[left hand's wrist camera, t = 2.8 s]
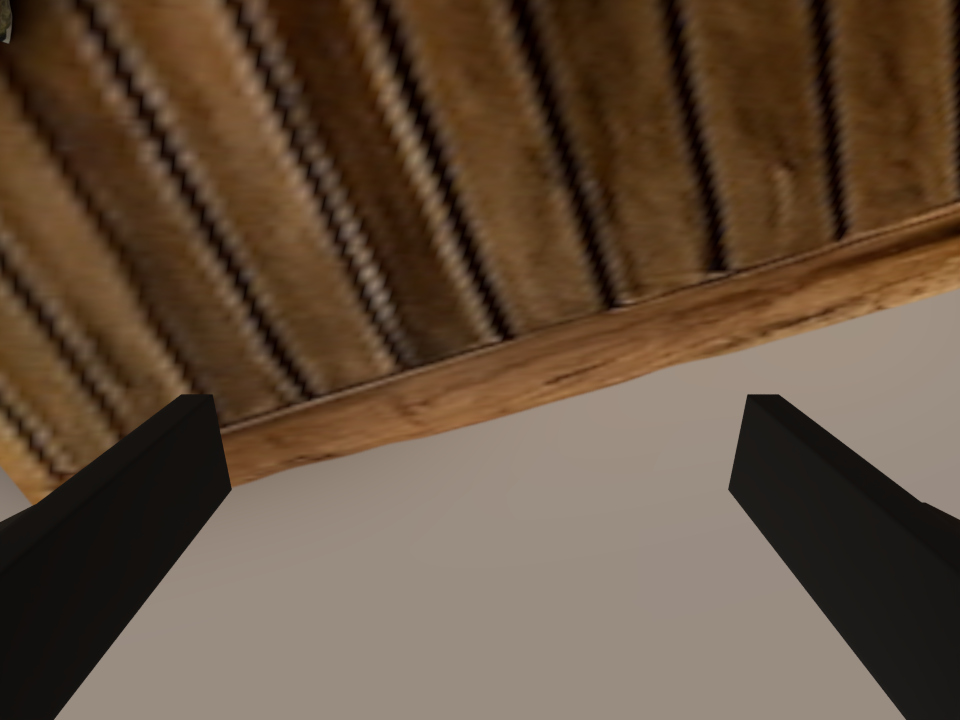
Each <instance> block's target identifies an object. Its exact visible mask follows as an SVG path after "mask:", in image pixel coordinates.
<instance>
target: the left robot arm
mask: <svg viewBox="0 0 960 720" xmlns="http://www.w3.org/2000/svg"><path fill="white" fill-rule="evenodd" d="M231 490H232V488H231V484H230V479H229V474H228V469H227V464H226V459H225V454H224V449H223V444H222V439H221V434H220V429H219V424H218V419H217V414H216V409H215V404H214V399H213V394H181V395H180V396H179V397H177V398H176V399H175V400H173V401H172V402H171V403H169V404H168V405H167V406H165V407H164V408H163V409H161V410H160V411H159V412H157V413H156V414H155V415H153V416H152V417H151V418H150V419H148V420H147V421H146V422H144V423H143V424H142V425H140V426H139V427H138V428H136V429H135V430H134V431H132V432H131V433H130V434H128V435H127V436H126V437H124V438H123V439H122V440H120V441H119V442H118V443H116V444H115V445H114V446H112V447H111V448H110V449H109V450H107V451H106V452H105V453H103V454H102V455H101V456H99V457H98V458H97V459H95V460H94V461H93V462H91V463H90V464H89V465H87V466H86V467H85V468H83V469H82V470H81V471H79V472H78V473H77V474H75V475H74V476H73V477H71V478H70V479H69V480H68V481H66V482H65V483H64V484H62V485H61V486H60V487H58V488H57V489H56V490H54V491H53V492H52V493H50V494H49V495H48V496H46V497H45V498H44V499H42V500H41V501H40V502H38V503H37V504H35V505H33V506H31V507H29V508H27V509H25V510H23V511H21V512H19V513H17V514H15V515H13V516H12V517H9V518H8V519H6V520H4V521H2V522H0V720H54V719H55V718H56V716H57V715H58V714H59V712H60V711H61V710H62V708H63V707H64V706H65V704H66V703H67V702H68V701H69V699H70V698H71V697H72V695H73V694H74V693H75V692H76V690H77V689H78V688H79V686H80V685H81V684H82V683H83V681H84V680H85V679H86V677H87V676H88V675H89V673H90V672H91V671H92V670H93V668H94V667H95V666H96V664H97V663H98V662H99V661H100V659H101V658H102V657H103V655H104V654H105V653H106V652H107V650H108V649H109V648H110V646H111V645H112V644H113V642H114V641H115V640H116V639H117V637H118V636H119V635H120V633H121V632H122V631H123V630H124V628H125V627H126V626H127V624H128V623H129V622H130V620H131V619H132V618H133V617H134V615H135V614H136V613H137V612H138V610H139V609H140V608H141V606H142V605H143V604H144V602H145V601H146V600H147V599H148V597H149V596H150V595H151V593H152V592H153V591H154V590H155V588H156V587H157V586H158V584H159V583H160V582H161V580H162V579H163V578H164V576H165V575H166V574H167V573H168V571H169V570H170V569H171V568H172V566H173V565H174V564H175V562H176V561H177V560H178V558H179V557H180V556H181V555H182V553H183V552H184V551H185V549H186V548H187V547H188V545H189V544H190V543H191V542H192V540H193V539H194V538H195V536H196V535H197V534H198V533H199V531H200V530H201V529H202V527H203V526H204V525H205V524H206V522H207V521H208V520H209V518H210V517H211V516H212V514H213V513H214V512H215V511H216V509H217V508H218V507H219V505H220V504H221V503H222V502H223V500H224V499H225V498H226V496H227V495H228V494H229V493H230V491H231ZM728 490H729V491H730V493H731V494H732V495H733V496H734V498H735V499H736V500H737V501H738V503H739V504H740V505H741V507H742V508H743V509H744V511H745V512H746V513H747V514H748V516H749V517H750V518H751V520H752V521H753V522H754V524H755V525H756V526H757V527H758V529H759V530H760V531H761V533H762V534H763V535H764V536H765V538H766V539H767V540H768V542H769V543H770V544H771V545H772V547H773V548H774V549H775V551H776V552H777V553H778V555H779V556H780V557H781V558H782V560H783V561H784V562H785V564H786V565H787V566H788V567H789V569H790V570H791V571H792V573H793V574H794V575H795V577H796V578H797V579H798V580H799V582H800V583H801V584H802V586H803V587H804V588H805V590H806V591H807V592H808V593H809V595H810V596H811V597H812V599H813V600H814V601H815V602H816V604H817V605H818V606H819V608H820V609H821V610H822V612H823V613H824V614H825V615H826V617H827V618H828V619H829V621H830V622H831V623H832V624H833V626H834V627H835V628H836V630H837V631H838V632H839V633H840V635H841V636H842V637H843V639H844V640H845V641H846V643H847V644H848V645H849V646H850V648H851V649H852V650H853V652H854V653H855V654H856V655H857V657H858V658H859V659H860V661H861V662H862V663H863V665H864V666H865V667H866V668H867V670H868V671H869V672H870V674H871V675H872V676H873V677H874V679H875V680H876V681H877V683H878V684H879V685H880V686H881V688H882V689H883V690H884V692H885V693H886V694H887V696H888V697H889V698H890V699H891V701H892V702H893V703H894V704H895V706H896V707H897V708H898V710H899V711H900V712H901V714H902V715H903V716H904V717H905V719H906V720H960V520H959V519H957V518H955V517H953V516H951V515H949V514H947V513H945V512H943V511H941V510H939V509H937V508H935V507H933V506H931V505H929V504H927V503H922V502H920V501H919V500H917V499H916V498H915V497H914V496H912V495H911V494H910V493H908V492H907V491H906V490H904V489H903V488H902V487H900V486H899V485H898V484H896V483H895V482H894V481H892V480H891V479H890V478H889V477H887V476H886V475H884V474H883V473H882V472H881V471H879V470H878V469H877V468H875V467H874V466H873V465H871V464H870V463H869V462H867V461H866V460H865V459H863V458H862V457H861V456H859V455H858V454H857V453H855V452H854V451H853V450H851V449H850V448H849V447H847V446H846V445H845V444H844V443H842V442H841V441H840V440H838V439H837V438H836V437H834V436H833V435H832V434H830V433H829V432H828V431H826V430H825V429H824V428H822V427H821V426H820V425H818V424H817V423H816V422H814V421H813V420H812V419H810V418H809V417H808V416H807V415H805V414H804V413H803V412H801V411H800V410H799V409H797V408H796V407H795V406H793V405H792V404H791V403H789V402H788V401H787V400H785V399H784V398H783V397H781V396H780V395H778V394H771V395H769V394H748V395H747V399H746V404H745V409H744V414H743V419H742V424H741V429H740V434H739V439H738V444H737V449H736V454H735V459H734V464H733V469H732V474H731V479H730V484H729V488H728Z"/></svg>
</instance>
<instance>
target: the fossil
mask: <svg viewBox="0 0 960 720" xmlns="http://www.w3.org/2000/svg"><path fill="white" fill-rule="evenodd" d="M11 28H12V13H11V8H10V2H9V0H0V41H2V42H5V43H9V41H10V35H11Z"/></svg>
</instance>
